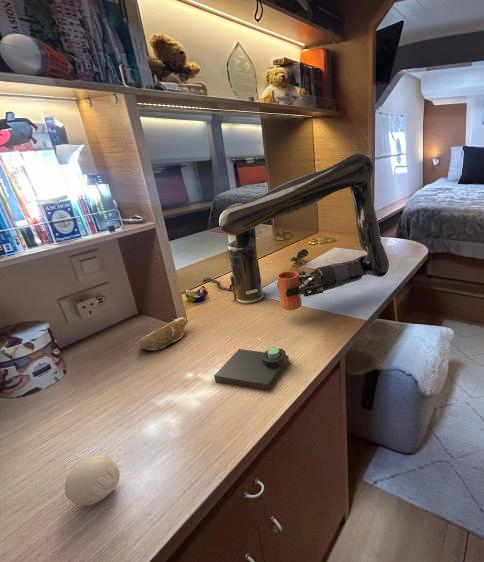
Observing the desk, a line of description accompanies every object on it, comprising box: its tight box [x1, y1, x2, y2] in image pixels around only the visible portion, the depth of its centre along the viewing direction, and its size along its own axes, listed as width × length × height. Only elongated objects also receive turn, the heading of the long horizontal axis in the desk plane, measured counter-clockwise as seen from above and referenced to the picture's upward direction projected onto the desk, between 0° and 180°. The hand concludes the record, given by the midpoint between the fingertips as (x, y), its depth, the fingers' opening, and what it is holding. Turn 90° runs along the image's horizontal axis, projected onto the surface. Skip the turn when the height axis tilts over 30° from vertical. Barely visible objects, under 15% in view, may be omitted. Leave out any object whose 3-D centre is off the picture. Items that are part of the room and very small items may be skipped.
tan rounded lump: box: [64, 455, 121, 507], centre depth 54 cm, size 7×7×7 cm
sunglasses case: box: [289, 264, 316, 282], centre depth 135 cm, size 18×7×7 cm, turn 66°
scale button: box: [267, 347, 280, 359], centre depth 83 cm, size 3×3×2 cm
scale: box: [213, 347, 290, 392], centre depth 82 cm, size 14×11×4 cm
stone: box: [135, 316, 189, 351], centre depth 96 cm, size 7×6×15 cm
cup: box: [276, 270, 303, 311], centre depth 101 cm, size 6×6×10 cm
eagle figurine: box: [289, 248, 309, 267], centre depth 150 cm, size 8×7×9 cm
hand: (281, 289), depth 99 cm, fingers closed on cup, 6 cm apart
